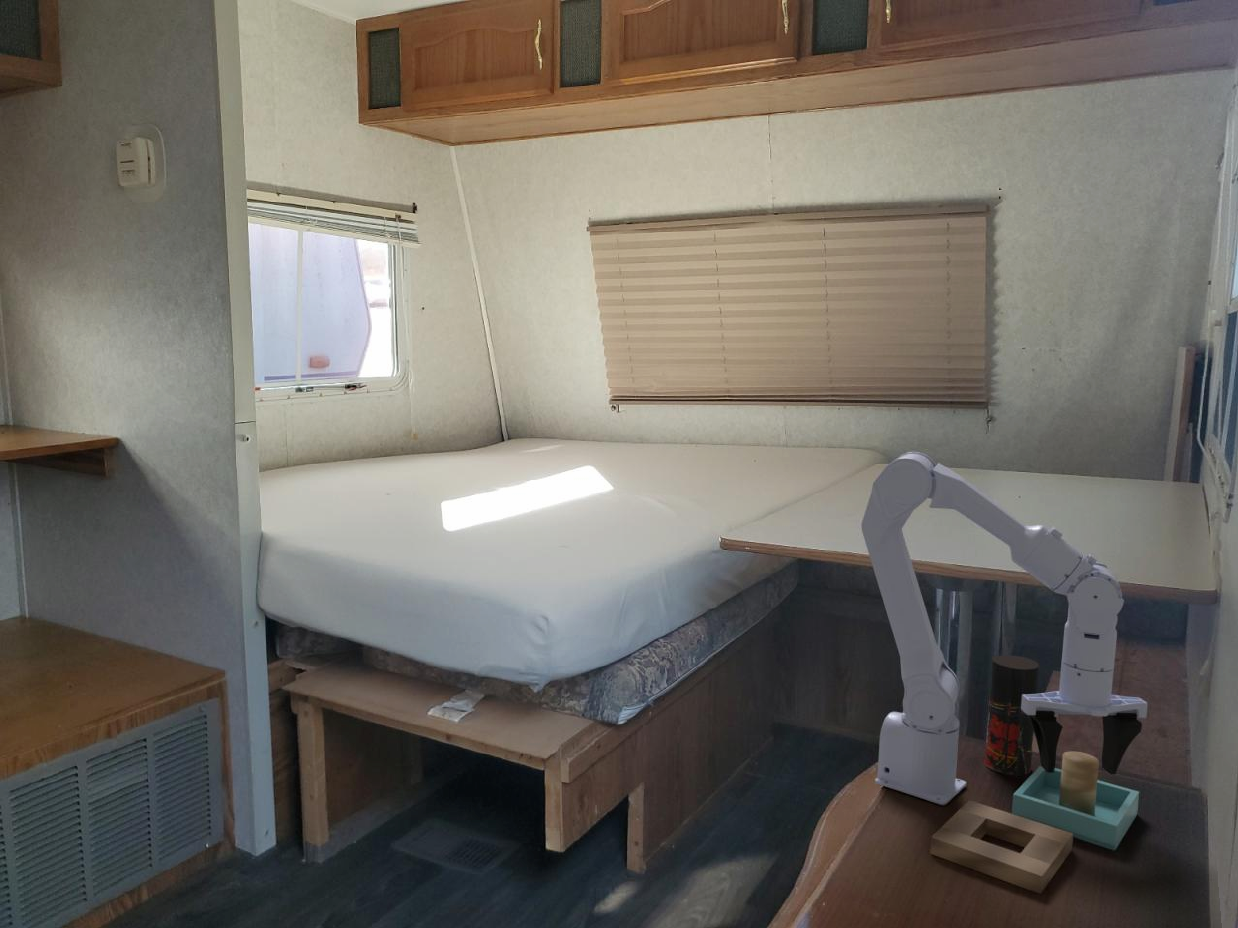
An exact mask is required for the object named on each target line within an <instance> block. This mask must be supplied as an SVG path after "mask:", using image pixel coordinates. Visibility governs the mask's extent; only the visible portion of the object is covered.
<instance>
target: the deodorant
mask: <svg viewBox="0 0 1238 928" xmlns="http://www.w3.org/2000/svg"><path fill="white" fill-rule="evenodd" d="M1039 667H1040V666H1039V663H1038V662H1037V661H1035V660H1034V659H1031V658H1027V657H1025V656H1024V657H1023V656H1020V655H1019V656H1018V655H1009V654H1006V655H1005V654H1000V655H995V656H993V657H992V659H991V670H990V672H991V673H990V686H989V687H990V688H989V698H988V699H989V700H988V712H987V713H988V715H987V725H986V726H987V727H986V729H987V730H986V741H985V753H984V754H985V755H984V756H985V757H984V764H985V766H986V767H987V768H988V769H989V770H991V771H993V772H995V773H999V774H1002V775H1005V776H1011V777H1012V776H1013V777H1015V776H1016V777H1022V776H1023V777H1024V776H1026V775H1028V774H1030V773H1031V771H1032V760H1033V759H1032V758H1033V747H1034V746H1033V745H1034V735H1035V734H1034V731H1033V728H1032V726H1031V723H1030V721H1029V719H1028V717H1027V715H1026V713H1025V712H1024V711H1023V710H1022V709H1021V702H1022V695H1023V694H1038V681H1039V680H1038V678H1039Z"/></svg>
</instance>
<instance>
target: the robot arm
mask: <svg viewBox="0 0 1238 928" xmlns="http://www.w3.org/2000/svg"><path fill="white" fill-rule="evenodd" d="M927 499H931V502H930V504H929V506H928V507H929V508H930V509H942V510H943V509H944V510H954V511H956V512H958V513H959V514H961V515H963V517H966V518H967V519H968V520H969V521H972V522H973V523H974V524H976V525H978V526H979V527H980V528H981V529H983V530H985V531H987V532H988V533H989V534H991V535H992V536H994V537H995V538H997V539H998V540H1000V541H1001V542H1002V543H1004V544H1006V545H1007V546H1008V547H1009V549H1010V558H1011V561H1012V562H1013V563H1014V564H1015V565H1017V566H1018V567H1020V568H1021V569H1023V570H1024V571H1025V572H1027V573H1028V574H1030V575H1031V576H1032V577H1033V578H1035V580H1037V581H1039V582H1041V583H1042V584H1043V585H1044V586H1046V587H1047V588H1049V589H1050V590H1051V591H1053V592H1054V593H1055V594H1059V595H1064V596H1065V597H1067V602H1068V610H1067V621H1066V623H1065V624H1064V631H1063V641H1062V642H1063V644H1062V652H1061V653H1062V654H1061V664H1060V665H1061V666H1060V674H1059V675H1060V676H1059V677H1060V678H1059V686H1058V688H1059V689H1058V690H1056V691H1055V690H1054V691H1049V692H1042V693H1037V694H1023V695H1022V702H1021V709H1022V710H1023V711H1024V712H1025V713H1026V715H1027V717H1028V719H1029V721H1030V723H1031V726H1032V728H1033V731H1034V734H1033V735H1034V736H1035V740H1036V743H1037V747H1038V748H1037V749H1038V753H1039V760H1040V765H1041V767H1042V768H1043V769H1044V770H1045V771H1046V772H1048V773H1054V769H1055V768H1056V760H1057V749H1058V744H1059V741H1060V740H1059V739H1060V736H1061V732H1062V731H1063V725H1062V724H1061V723H1059V722H1058V720H1057V719H1058V718H1057V717H1056V716H1055V715H1086V716H1087V715H1088V716H1089V715H1090V716H1091V717H1101V719H1102V720H1101V721H1102V731H1103V733H1102V734H1103V739H1102V740H1103V742H1102V751H1101V752H1102V753H1101V768H1102V769H1104V770H1105V771H1106V772H1108V774H1109V775H1116V774H1117V771H1118V770H1119V766H1120V763H1121V762H1122V759H1123V757H1124V755H1125V753H1126V751H1127V749H1128V748H1129V746H1130V744H1131V743H1132V742H1133V741H1134V740H1135V738H1136V737H1137V736H1138V735H1139V734H1140V733H1142V729H1143V728H1142V727H1143V723H1142V722H1141V721H1140V720H1139V719H1140V718H1141V719H1147V715H1148V713H1147V712H1148V702H1147V701H1145V700H1143V698H1140V697H1139V696H1137V697H1135V696H1126V695H1125V696H1124V695H1118V694H1112V690H1113V689H1112V688H1113V679H1114V670H1115V658H1116V647H1117V638H1118V631H1117V629H1116V626H1117V624H1118V619H1119V618H1118V614H1119V613H1120V611H1121V610H1122V608H1123V606H1124V603H1125V600H1124V598H1123V592H1122V589H1121V585H1120V584H1119V583H1120V582H1119V581H1118V579H1117V577H1116V575H1115V574H1114V572H1113V571H1111V570H1110V569H1109V568H1108V567H1107V565H1106V564H1105V563H1102V562H1098V561H1097V558H1096V557H1095V556H1093V555H1092V554H1091V553H1089V554H1088V555H1085V554H1084V553H1082V552H1081V551H1080V550H1078V549H1077V548H1075V547H1074V546H1073V545H1071V544H1070V543H1068V542H1067V541H1066V540H1065V539H1064V538H1062V537H1063V532H1062V531H1060V530H1059V529H1057V528H1056V527H1054V526H1053V527H1051V529H1048V528H1047V527H1046V526H1045V525H1043V524H1038V525H1037V524H1035V525H1025V524H1024V523H1022V522H1021V521H1020V520H1019V519H1017V518H1016V517H1015V516H1013V515H1012V514H1011V513H1009V512H1008V511H1007V510H1006V509H1004V508H1003V507H1002V506H1000V505H999V504H998V503H997V502H995V501H994V500H993V499H991V498H990V497H989V496H988V495H986V494H985V493H984V492H982V491H981V490H980V489H978V488H977V487H976V486H975V485H973V484H972V483H971V482H970V481H968V480H967V479H965V477H963V476H961V475H960V474H958V473H957V472H955V471H953V470H952V469H950V468H949V467H947V466H945V465H943V464H941V463H937V464H936V462H935V461H934V460H933V459H932V458H931V457H929V455H927V454H925V453H922V452H917V451H910V452H909V451H908V452H904V453H903V454H901V455H899V456H898V457H897V458H896V459H894V460H893V461H891V462H890V463H889V462H888V464H887V465H886V466H885V467H884V469H882V471H881V472H880V473H879V475H878V476H877V477H876V478H875V480H874V481H873V482H872V487H871V492H870V495H869V498H868V502H867V505H866V507H865V511H864V515H863V517H862V521H861V525H860V526H861V532H862V535H863V539H864V542H865V545H866V549H867V551H868V556H869V558H870V562H871V565H872V569H873V572H874V575H875V578H876V581H877V585H878V588H879V591H880V595H881V598H882V600H883V601H882V602H883V605H884V608H885V611H886V613H887V618H888V621H889V625H890V628H891V631H892V633H893V637H894V641H895V645H896V647H897V650H898V655H899V657H900V659H899V660H900V673H901V680H902V682H903V683H902V684H903V688H904V693H903V694H904V695H903V700H902V709H903V710H902V712H898V711H891V712H889V713H888V714H887V715H886V717H885V718H884V720H883V723H882V724H881V725H882V726H881V728H880V734H879V744H878V745H879V748H878V763H877V764H878V766H877V777H876V778H875V780H874V783H875V784H877V785H880V786H883V787H887V788H889V789H892V790H896V791H898V792H901V793H905V794H907V795H910V796H913V797H916V798H919V799H921V800H922V799H923V800H926V801H928V802H932V803H935V804H937V805H941V806H945V805H947V804H948V803H949V802H950V801H951V800H952V799H953V798H954V797H955V796H956V795H958V794H959V793H960V792H961V791H962V790H963V789H964V788H965V787H966V786H967V781H966V780H963V779H961V778H957V766H958V765H957V764H958V753H959V752H958V751H959V750H958V749H959V735H960V734H959V733H960V720H959V719H958V717H957V716H956V715H955V713H956V703H957V700H958V697H959V695H960V691H961V690H960V689H961V687H960V686H961V685H960V681H959V678H958V676H957V675H956V673H955V672H954V671H953V670H952V669H951V668H950V667H949V666H948V665H949V664H947V662H946V660H945V657H944V654H943V652H942V649H941V648H940V647H939V645H938V644H937V642H936V638H935V634H934V632H933V629H932V626H931V621H930V617H929V615H928V612H927V608H926V605H925V602H924V599H923V596H922V592H921V588H920V585H919V582H918V578H917V576H916V573H915V570H914V565H913V563H912V559H911V556H910V553H909V550H908V546H907V543H906V540H905V537H904V536H905V535H904V533H903V528H904V526H905V525H906V523H907V522H908V520H909V519H910V517H911V515H912V513H914V511H915V510H917V509H918V508H919V507H920V506H921V505H922V504H923V503H924V502H925V501H927ZM1138 718H1139V719H1138Z"/></svg>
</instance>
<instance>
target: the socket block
mask: <svg viewBox="0 0 1238 928" xmlns="http://www.w3.org/2000/svg"><path fill="white" fill-rule="evenodd" d="M985 835H987V836H990V837H993V838H996V839H999V840H1001V841H1005V842H1007V843H1010V844H1012V845H1016V846H1018V847H1021V848H1024V849H1022V851H1020V852H1018V851H1015V850H1011V849H1009V848H1005V847H1002V846H999V845H997V844H993V843H991V842H987V841H985V840H982V838H983V837H984V836H985ZM1073 841H1074V837H1073V833H1070V832H1067V831H1064V830H1061V829H1057V828H1054V827H1051V826H1048V825H1045V824H1042V823H1039V822H1036V821H1033V820H1029V819H1026V818H1023V817H1020V816H1017V815H1014V814H1012V812H1011V813H1010V812H1007V811H1005V810H1001V809H998V808H994V807H992V806H989V805H986V804H982V803H979V802H976V801H974V800H968V801H966V803H964V805H962V807H961V808H959V810H958V811H956V812H955V814H953V816H951V817H950V819H948V820H947V821H946V822H945V823H944V824H943V825H942V826H941V827H940V828H939V829H938V830H937V831H936V832H935V833H933V835H932V836H931V837H930V850H929V851H930V852H929V854H930V855H933V856H936V857H939V858H941V859H944V860H947V861H948V862H949V861H950V862H952V863H955V864H957V865H960V866H963V867H966V868H969V869H971V870H974V871H977V872H978V873H979V872H980V873H982V874H984V875H987V876H991V877H993V878H996V879H999V880H1001V881H1004V882H1005V883H1006V882H1007V883H1010V884H1012V885H1014V886H1017V887H1020V888H1022V889H1025V890H1028V891H1030V892H1034V893H1037V894H1040V895H1041V894H1042V893H1043V892H1044V890H1045V889H1046V887H1047V886H1048V884H1049V883H1050V881H1051V880H1052V878H1053V877H1054V876H1055V875H1056V873H1057V872H1058V871H1059V869H1060V867H1061V866H1062V864H1063V863H1064V862H1065V861H1066V859H1067V858H1068V856H1069V855H1070V853H1071V852H1072V851H1073Z"/></svg>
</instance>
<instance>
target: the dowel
mask: <svg viewBox="0 0 1238 928" xmlns="http://www.w3.org/2000/svg"><path fill="white" fill-rule="evenodd" d="M1099 763H1100V761H1099V759H1098V758H1097V757H1096V756H1094V755H1092V754H1090V753H1085V752H1081V751H1072V750H1070V751H1066V752H1065V751H1064V753H1062V761H1061V770H1062V772H1061V784H1060V797H1059V806H1062V807H1066V808H1069V809H1072V810H1075V811H1079V812H1082V813H1085V814H1089V815H1092V816H1094V814H1095V802H1096V790H1097V780H1098V779H1099V778H1098V777H1099V776H1098V775H1099Z"/></svg>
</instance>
